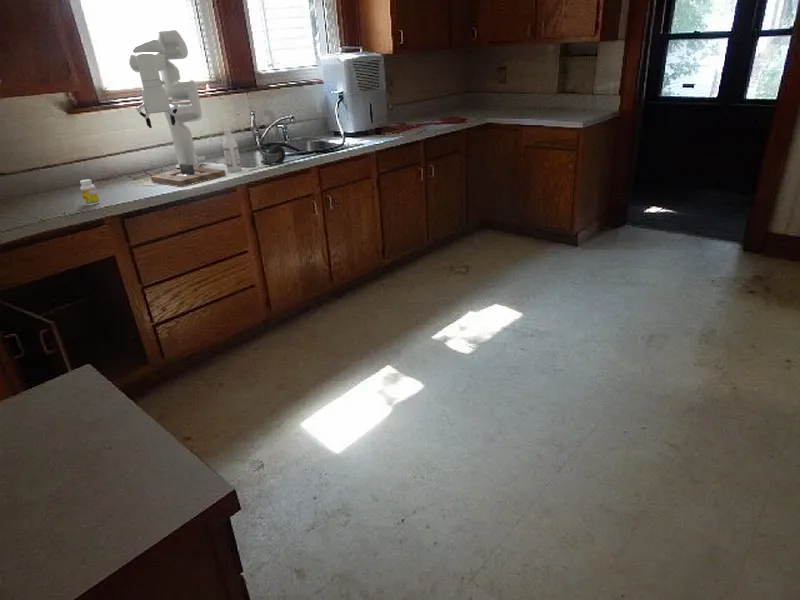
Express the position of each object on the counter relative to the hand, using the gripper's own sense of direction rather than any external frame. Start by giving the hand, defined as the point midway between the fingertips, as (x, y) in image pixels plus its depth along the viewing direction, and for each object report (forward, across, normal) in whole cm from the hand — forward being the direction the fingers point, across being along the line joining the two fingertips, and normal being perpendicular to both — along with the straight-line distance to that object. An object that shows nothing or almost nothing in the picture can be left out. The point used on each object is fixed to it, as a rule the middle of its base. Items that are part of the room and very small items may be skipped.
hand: (162, 126), depth 234 cm
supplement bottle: (+25, +36, +16) cm, 47 cm away
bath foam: (+25, -29, -4) cm, 38 cm away
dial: (+25, -7, -3) cm, 26 cm away
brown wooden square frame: (+25, -7, -3) cm, 26 cm away
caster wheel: (+25, -49, -4) cm, 55 cm away
